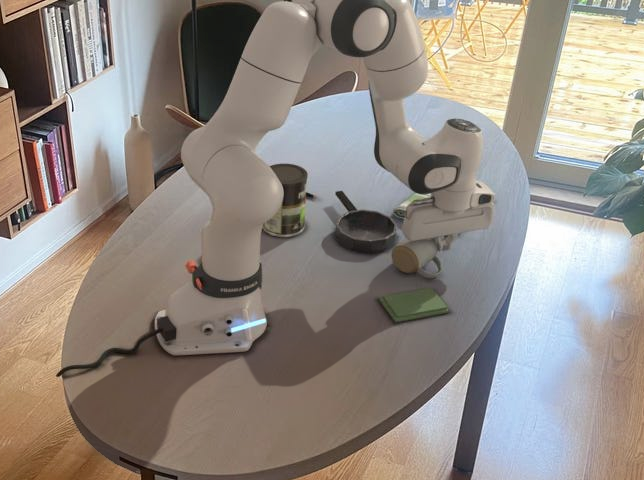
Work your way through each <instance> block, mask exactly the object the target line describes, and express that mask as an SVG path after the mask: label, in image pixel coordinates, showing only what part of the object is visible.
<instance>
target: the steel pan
mask: <svg viewBox="0 0 644 480" xmlns="http://www.w3.org/2000/svg"><path fill="white" fill-rule="evenodd" d="M334 192H335V193H334V194H335V196H336V197H337V199H338V200H339V201H340V202H341V204H342V205H343V206H344V208H345V209H346V210H347V212H345V213H343V214H341V215H340V216H338V218H337V220H336V224H335V234H334V238H335V239H336V242H338V244H339V245H340V246H341V247H343V248H345V249H347V250H349V251H351V252H354V253H360V254H377V253H383V252H386V251H388V250H389V249H390V248H392V247H394V245H395V242H396V237H397V228H398V223H396V222H395V220H394V219H393V218H392V217H391V216H390V215H388V214H385V213H383V212H380V211H377V210H369V209H357V207H356V206H355V205H354V203H353V202H352V201H351V200H350V199H349V197H348V196H347V195H346V194H345V192H344V191H343V190H336V191H334Z"/></svg>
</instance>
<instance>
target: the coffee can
mask: <svg viewBox="0 0 644 480" xmlns="http://www.w3.org/2000/svg"><path fill="white" fill-rule="evenodd" d="M269 166H270V167H271V169H272V170H273V172H274V173H275V174H276V176H277V178H278V179H279V181H280V182H281V184H282V186H283V191H284V197H283V201H282V204H281V207H280V208H279V210H278V212H277V213H276V214H275V215H274V216H273V217H272V218H271V219H270V220H268V221H267V222H265V223H264V224H263V227H262V230H263V231H264V232H265V233H267V234H268V235H270V236H273V237H279V238H291V237H295V236H298V235H300V234H301V233H302V232H303V231H304V230H305V228H306V227H305V223H306V222H305V221H306V219H305V218H306V201H307V196H306V192H307V182H308V175H309V174H308V171H307V170H306V169H305V168H304V167H302V166H300V165H298V164H294V163H275V164H271V165H269Z"/></svg>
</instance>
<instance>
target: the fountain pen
mask: <svg viewBox="0 0 644 480" xmlns="http://www.w3.org/2000/svg"><path fill="white" fill-rule="evenodd" d="M306 197H308V198H312V199H313V198H314V199H319V197H318V196H315V195H314V194H312V193H309V192H308V191H306Z"/></svg>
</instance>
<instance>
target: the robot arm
mask: <svg viewBox="0 0 644 480" xmlns="http://www.w3.org/2000/svg"><path fill="white" fill-rule="evenodd" d="M323 46H326V47H329V49H330V48H331V49H333V50H335V51H338V52H339V53H341V54H342V55H344V56H346V57H347V56H348V57H351V58H362V59H363V63H364V67H365V71H366V74H367V78H368V79H367V80H368V91H369V92H368V93H369V98H370V103H371V109H372V110H371V111H372V114H373V121H374V125H375V138H374V145H373V155H374V159H375V161H376V163H377V164H378V165H379V166H380V167H381V168H382V169H384V170H385V171H387V172H388V173H390V174H391V175H392V176H393V177H394V178H396V179H397V180H398V181H400V183H402V184H403V185H404V186H405V187H407V189H409V190H411V191H412V192H414V194H415V193H417V194H430V193H431V197H428V198H424V199H416V200H413V202H411V203H410V204H409V205H407V207H406V213H405V214H406V215H405V218H404V219H403V221H402V227H401V233H402V234H403V236H404V238H405V237H406V238H407V239H408V240H409V241H416V240H422V239H428V238H434V239H435V241H436V243H437V246H438V252H439V253H440V252H445V251H450V250H452V246H453V243H454V242H455V241H456V240H457V238H459V234H462V233H468V232H469V233H470V232H474V231H480V230H486V229H487V230H488V229H489V228H490V227H491V226H492V225H493V222H494V217H495V209H496V208H495V204H494V202H495V200H496V194H495V192H494V191H493V190H492V189H491V188H490V187H489V186H487V184H485V183H484V182H482V181H481V180H477V172H478V170H479V169H480V167H481V166H480V165H481V161H482V155H483V147H484V146H483V145H484V136H483V131H482V129H481V128H480V127H479V126H478V125H476V124H475V123H473V122H471V121H470V120H465V119H462V118H449V119H447V120H446V121H445V122H444V124H443V126H442V128H441V129H440V130H438V131H437V133H435V134H434V135H433V136H432V137H430V138H427V139H426V138H425V137H423V135H421V134H420V133H419V132H417V130H415V129H414V128H413V127H412V126H411V124H410V123H409V122H408V120H407V115H406V109H405V102H404V100H405V99H407V98H409V97H411V96H412V95H414V94H415V93H416V92H418V91H419V90H420V89H421V88H422V87H423V85H424V84H425V82H426V81H427V78H428V76H429V75H428V74H429V60H428V55H427V49H426V44H425V41H424V36H423V33H422V30H421V26H420V23H419V20H418V18H417V14H416V12H415V10H414V8H413V6H412V4H411V2H410V0H283V1H281V0H279V1H275V2H272V3H271V4H269V5H268V6H267V7H266V8H265V9H264V11H263V12H262V14H261V15H260V17H259V19H258V21H257V22H256V24H255V26H254V27H253V30H252V32H251V33H250V35H249V37H248V40H247V41H246V44H245V46H244V49H243V51H242V54H241V56H240V59H239V61H238V64H237V67H236V69H235V72H234V74H233V77H232V80H231V82H230V84H229V87H228V89H227V92H226V93H225V96H224V99H223V100H222V102H221V104H220V105H219V107H218V109H217V110H216V111H215V113H214V114H213V115H212V117H211V118H210V119H209V120H208V121H207V123H205V124H204V125H203V126H200V127H198V128H196V129H194V130H192V131H191V132H190V133H189V134H188V135H187V137H186V138H185V139H184V141H183V143H182V146H181V149H180V159H181V163H182V164H183V167H184V169H185V171H186V172H187V175H188V176H189V178H190V180H191V181H192V182H193V183H194V184H195V185H196V186H198V188H200V189H201V190H202V191H203V192H204V193H205V195H207V197H208V199H209V201H210V203H211V206H212V212H211V213H212V214H211V218H210V219H209V220H207V221H206V222H205V224H204V225H203V226H202V228H201V231H200V238H201V241H200V242H201V261H200V263H199V265H198V266H197V262H196V261H195V260H192V259H191V260H188V261H186V263H185V269H187V272H188V273H189V274H191V279H190V280H189V281H188V282H186V283H185V284H183V285H182V286H181V287H180V288H179V287H178V289H177V290H175V291H173V292H172V293H171V294H170V295H169V296H168V298H167V301H166V303H165V304H166V305H165V308H164V309H162V310H159V311H158V312H157V314H156V315H155V318H154V330H153V331H151V332H149V333H147V334H145V335H143V336H142V337H141V338H139V339H138V340H137V342H136V343H135V345H134V346H133V348H130V349H126V348H120V347H112V348H109V349H107V350H104V352H102V354H101V355H100V357H99V359H98V360H97V361H95V362H92V363H87V364H73V365H68V366H65V367H63V368H61V369H60V370H59V371H58V372H57V373H56V375H55V378H60V377H62V376H63V375H64V374H65V373H66V372H69V371H72V370H85V369H86V370H87V369H92V368H95V367H97V366H99V365H101V364H102V363H103V361H104V360H105V359H106V357H107V356H108V355H109V354H111V353H120V354H121V353H122V354H124V355H125V354H127V355H130V354H134V353H136V352H137V351H138V350H139V348H140V347H141V345H142V344H143V343H144V342H145V341H146V340H149V339H150V338H153V337H154V336H156V339H157V342H158V343H159V345H160V346H161V348H162V349H163V350H164V351H165V352H167V353H168V354H170V355H172V356H190V355H191V356H192V355H208V354H209V355H211V354H228V353H245V352H247V351H249V350H250V348H252V345H253V342H254V341H255V340H257V339H258V338H260V337H261V336H262V335H263V334H264V332H265V331H266V329H267V325H268V319H267V317H266V314H265V310H264V306H263V302H262V293H261V289H262V287H263V286H262V284H263V265H262V263H261V237H262V230H263V228H262V227H263V224H264V223H265V222H267V221H268V220H270V219H271V218H272V217H273V216H274V215H275V214H276V213H277V212H278V210H279V208H280V207H281V204H282V201H283V197H284V191H283V186H282V184H281V182H280V181H279V179H278V178H277V176H276V174H275V173H274V172H273V170H272V169H271V167H270V166H271V165H269V164H268V163H266V162H265V161H264V160H263V159H261V158H260V157H259V156H258V155H257V154H255V151H256V148H257V147H258V145H259V143H260V142H261V140H262V139H263V138H264V137H265V135H267V134H268V133H269V132H272V131H275V130H276V131H277V130H279V129H280V128H281V127H282V126H284V124H285V123H286V121H287V119H288V116H289V114H290V112H291V110H292V107H293V106H294V105H293V104H294V102H295V100H296V97H297V95H298V92H299V90H300V88H301V85H302V82H303V80H304V77H305V75H306V72H307V69H308V66H309V63H310V61H311V59H312V58H313V56H314V55H315V54H316V53H317V51H318V50H319V49H320V48H321V47H323ZM446 236H447V237H446ZM445 237H446V238H445Z"/></svg>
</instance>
